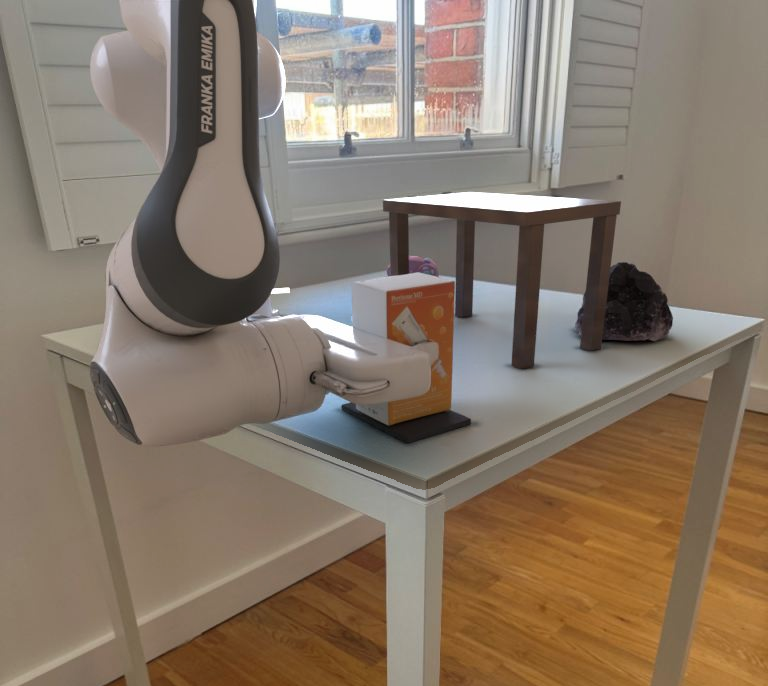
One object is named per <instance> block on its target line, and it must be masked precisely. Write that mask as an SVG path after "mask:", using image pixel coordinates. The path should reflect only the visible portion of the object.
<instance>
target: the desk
mask: <svg viewBox="0 0 768 686" xmlns="http://www.w3.org/2000/svg"><path fill="white" fill-rule="evenodd" d="M621 205H622V201H621V200H606V199H591V198H573V197H560V196H559V197H557V196H556V197H555V196H544V195H543V196H542V195H541V196H540V195H526V194H525V195H524V194H507V193H494V192H492V193H491V192H475V191H467V192H456V193H455V192H453V193H444V194H432V195H424V196H423V195H421V196H410V197H399V198H398V197H397V198H388V199H383V200H382V211H383V212H386V213H388V227H389V229H388V231H389V264H390V273H391V276H398V275H406V274H409V256H410V241H409V237H410V236H409V233H410V232H409V231H410V230H409V215H414V216H421V217H423V216H424V217H432V218H442V219H451V220H456V235H455V236H456V237H455V238H456V239H455V241H456V242H455V243H456V244H455V247H456V248H455V295H454V316H456V317H459V318H467V317H471V316H473V306H474V305H473V302H474V275H475V274H474V272H475V271H474V270H475V238H476V237H475V236H476V235H475V234H476V222H479V223H488V224H498V225H508V226H518V227H519V229H518V245H517V260H516V261H517V262H516V278H515V279H516V280H515V297H514V313H513V314H514V316H513V333H512V348H511V349H512V350H511V367H514V368H518V369H520V370H525V369H528V368H529V369H530V368H533V367H535V358H536V357H535V355H536V344H537V343H536V342H537V333H538V332H537V330H538V315H539V303H540V291H541V290H540V289H541V278H542V277H541V275H542V262H543V249H544V248H543V247H544V234H545V225H547V224H556V223H562V222H563V223H564V222H571V221H572V222H573V221H579V220H586V219H587V220H588V219H592V226H591V234H590V235H591V236H590V247H589V253H588V254H589V255H588V264H587V265H588V266H587V275H586V284H585V291H586V293H585V292H584V293H585V302H584V312H583V322H582V331H581V336H580V343H579V349H582V350H586V351H589V352H592V351H596V350H600V349H602V345H603V343H602V342H603V340H602V336H603V328H604V319H605V311H606V302H607V294H608V285H609V277H610V268H611V267H612V259H613V251H614V250H613V249H614V242H615V233H616V225H617V216H618V215H620V213H621Z"/></svg>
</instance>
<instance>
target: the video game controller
mask: <svg viewBox="0 0 768 686" xmlns="http://www.w3.org/2000/svg"><path fill="white" fill-rule="evenodd" d="M417 272H419V273H423V274H428V275H432V276H436V277H440V274H439V270H438V267H437V265H436V263H435V262H434V261H433V260H432V259H431V258H430V257H425V258H423V257H420V256H417V255H409V274H412V273H417ZM386 275H387V277H388V276H391V273H390V263H389V264H388V265H387V268H386Z"/></svg>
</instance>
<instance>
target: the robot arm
mask: <svg viewBox="0 0 768 686" xmlns="http://www.w3.org/2000/svg"><path fill="white" fill-rule="evenodd" d="M118 1H119V8H120V15H121V20H122V23H123V25H124V27H125V28H126V30H123V31H117V32H114V33H110V34H107V35H106V34H105V35H102V36H100V37H99V39H98V40H97V42H96V43H95V45H94V48H93V49H92V52H91V55H90V56H91V57H90V62H89V72H90V73H89V74H90V80H91V85H92V88H93V90H94V93H95V95H96V98H97V99H98V101H99V103H100V104H101V105H102V107H103V108H104V110H105V111H106V112H107V113H108V115H110V116H111V117H112V118H114V119H115V120H116V121H118V122H119V123H120V124H122V125H123V126H124V127H126V128H127V129H129V130H130V132H132V134H134V135H135V136H136V137H137V138H138V139H139V140H140V141H141V143H143V145H144V146H145V148H146V149H147V150H148V151H149V153H150V154H151V157H152V158H153V159H154V161H155V163H156V165H157V167H158V169H159V171H160V172H159V173H160V174H159V176H158V178H157V180H156V181H155V183H154V185H153V186H152V188H151V189H150V191H149V193H148V195H147V196H146V198H145V199H144V202H143V203H142V205H141V207H140V209H139V211H138V214H137V215H136V216H135V218H134V219H133V220H132V222H131V223H130V225H129V226H127V228H126V229H125V230H124V232H123V233H122V234H121V236H119V238H118V239H117V241H116V242H115V244H114V246H113V247H112V249H111V251H110V252H109V255H108V258H107V261H106V265H105V277H104V278H105V314H104V322H103V327H102V332H101V335H100V340H99V344H98V348H97V349H96V352H95V353H94V356H93V357H92V359H91V361H90V364H89V376H90V381H91V384H92V386H93V391H94V395H95V397H96V399H97V401H98V403H99V405H100V408H101V409H102V411H103V413H104V414H105V416H106V419H108V421H109V422H110V424H111V426H113V427H114V428H115V431H116V432H118V434H120V436H122V437H123V438H124V439H126V440H128V441H129V442H132V443H134V444H136V445H139V446H143V447H154V448H155V447H167V446H168V447H169V446H175V445H182V444H188V443H192V442H197V441H201V440H206V439H210V438H214V437H219V436H222V435H225V434H227V433H228V434H229V433H230V432H231V431H233V430H235V429H236V428H239V427H241V426H243V425H251V424H258V425H265V424H270V423H273V422H277V421H282V420H286V419H291V418H295V417H299V416H302V415H306V414H310V413H314V412H316V411H318V410H319V409H321V407H322V406H323V403H324V401H325V398H326V396H327V395H328V394H332V395H334V396H336V397H338V398H340V399H342V400H344V401H347V402H348V403H350V402H351V403H354V404H359V405H372V404H381V403H387V402H393V401H398V400H403V399H408V398H413V397H418V396H421V395H424V394H425V393H426V392H427V391H428V390H429V389H430V385H431V362H433V361H436V360H437V359H438V355H439V346H438V343H436V342H433V341H430V340H423V341H417V342H415V346H413V347H411V346H408V345H405V344H402V343H399V342H396V341H393V340H390V339H387V338H384V337H381V336H378V335H375V334H372V333H369V332H366V331H363V330H360V329H357V328H354V327H353V325H348V324H345V323H342V322H339V321H337V320H335V319H334V320H333V319H331V318H327V317H325V316H322V315H316V314H299V315H298V314H289V315H283V316H280V311H279V309H275V308H273V307H272V303H271V295H272V294H290V292H291V291H290V287H282V288H281V287H280V288H275V285H276V283H277V281H278V277H279V271H280V264H281V263H280V261H281V254H280V252H281V251H280V243H279V237H278V233H277V229H276V225H275V223H274V219H273V216H272V213H271V210H270V206H269V203H268V200H267V196H266V192H265V189H264V183H263V179H262V173H261V172H262V171H261V157H260V155H261V154H260V120H261V119H265V118H269V117H273V116H274V115H275V113H277V111H278V109H279V107H280V106H281V103H282V101H283V99H284V95H285V91H286V73H285V72H286V71H285V68H284V64H283V61H282V59H281V58H282V57H281V56H280V54H279V52H278V50H277V49H276V47H275V46H274V44H273V43H272V42H271V41H270V40H269V39H268V38H267V37H265V36H263V35H262V34H261V33H260V32H258V28H257V27H258V26H257V20H256V19H257V17H256V16H257V15H256V14H257V1H258V0H118Z"/></svg>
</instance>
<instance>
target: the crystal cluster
mask: <svg viewBox="0 0 768 686" xmlns="http://www.w3.org/2000/svg"><path fill="white" fill-rule="evenodd" d="M585 293H586V290H585V291H584V293H583V296H582V303H581V307H580V308H579V309H578V312H577V314H576V315H577V318H576V321H575V325H574V328H575V330H574V331H576V332H577V333H578V335H579V336H580V337H581V331H582V322H583V312H584V302H585ZM668 302H669V299H668V296H667V294H666V293H665V292H663V289H662V287H661V286H660V285H659V284H658V283H657V281H655V279H654V277H653V276H652V275H651V274H650V273H648V272H647V271H641V270H639V269H638V268H637V266H636V264H634V263H629V262H628V261H627V262H626V261H622V262H619V261H618V262H617V263H616V264H613V265H611V268H610V277H609V285H608V294H607V302H606V311H605V319H604V328H603V336H602V341H606V340H607V341H608V340H609V341H626V342H628V341H629V342H632V341H633V342H635V341H636V342H637V341H646V340H649V341H651V342H656V341H659V340H663V339H664V338H667V337H668V335H669V333H670V331H671V330H672V327H673V323H674V322H673V320H674V316H673V314H672V311H671V308H670V306H669V305H668Z"/></svg>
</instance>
